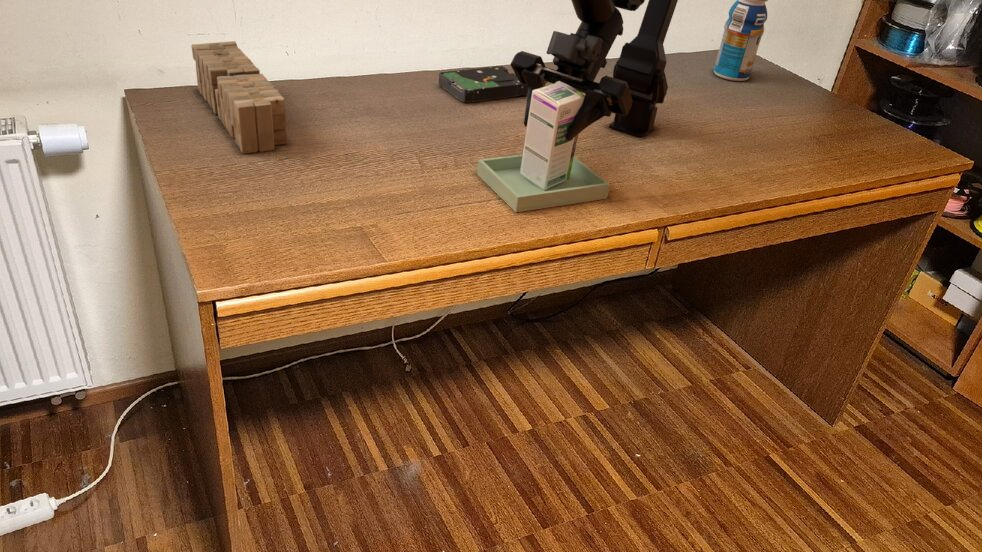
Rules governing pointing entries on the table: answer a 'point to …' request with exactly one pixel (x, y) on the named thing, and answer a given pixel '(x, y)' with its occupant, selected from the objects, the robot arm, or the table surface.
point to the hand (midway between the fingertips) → (545, 132)
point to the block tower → (240, 96)
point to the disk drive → (482, 84)
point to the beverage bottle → (741, 39)
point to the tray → (529, 196)
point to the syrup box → (550, 135)
